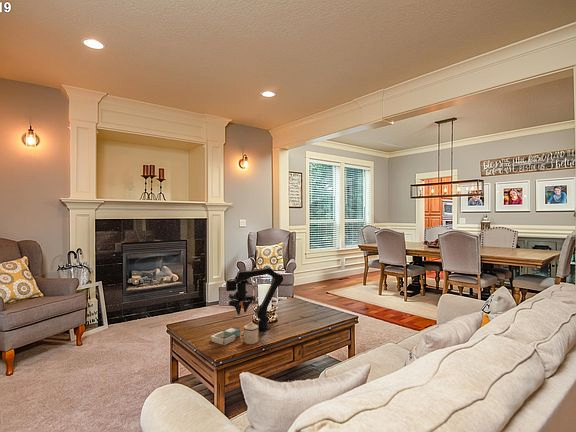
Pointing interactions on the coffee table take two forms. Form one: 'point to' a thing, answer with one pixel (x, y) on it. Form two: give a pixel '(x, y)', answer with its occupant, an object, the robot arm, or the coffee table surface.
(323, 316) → the coffee table surface
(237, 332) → the cabinet
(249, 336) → the white printed mug
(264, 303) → the robot arm
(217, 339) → the cream flat base plank
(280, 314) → the coffee table surface
